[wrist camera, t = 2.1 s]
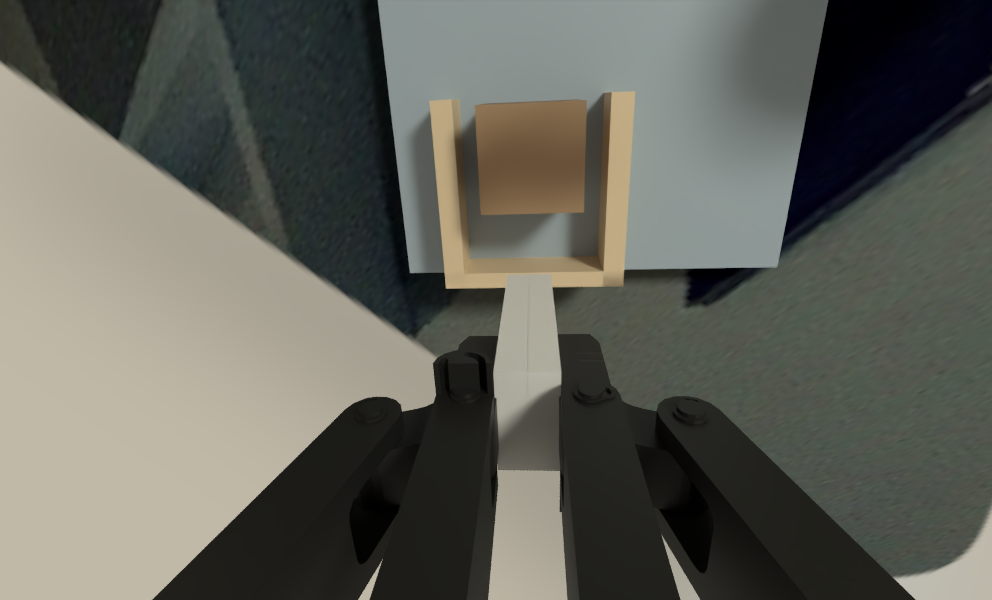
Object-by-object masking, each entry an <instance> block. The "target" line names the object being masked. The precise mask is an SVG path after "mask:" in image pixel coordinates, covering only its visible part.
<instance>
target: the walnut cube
mask: <svg viewBox="0 0 992 600" xmlns="http://www.w3.org/2000/svg"><path fill="white" fill-rule="evenodd" d="M586 115H587V100H579V99H575V100H553V101H531V102H509V103H487V104H480V105H475V119H476V137H477V155H478V173H479V191H480V209H481V215H504V214H543V213H581V212H584V188H585V151H586Z"/></svg>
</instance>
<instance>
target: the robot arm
mask: <svg viewBox="0 0 992 600" xmlns="http://www.w3.org/2000/svg"><path fill="white" fill-rule="evenodd" d="M433 368H434V378H435V387H436V397H435V401H434V403H433V404H431V405H428V406H426V407H423V408H419V409H414V410H409V411H404V412H402V410H401V405H400V404H399V403H398V402H397V401H396V400H394V399H391V398H388V397H372V398H366V399H363V400H361V401H358V402H356V403H354V404H352V405H351V406H349V407H348V408H347V409H345V410H344V411H343V412H342V413H341V414H340V415H339V416H338V417H337V418H336V419H335V420H334V421H333V422H332V423H331V424H330V425H329V426H328V427H327V428H326V429H325V430H324V431H323V432H322V433H321V434H320V435H319V436H318V437H317V438H316V439H315V440H314V441H313V442H312V443H311V444H310V445H309V446H308V447H307V448H306V449H305V450H304V451H303V452H302V453H301V454H300V455H299V456H298V457H297V458H296V459H295V460H294V461H293V462H292V463H291V464H290V465H289V466H288V467H287V468H285V469H284V471H283V472H281V473H280V474H279V475H278V476H277V477H276V478H275V479H274V480H273V481H272V482H271V483H270V484H269V485H268V486H267V487H266V488H265V489H264V490H263V491H262V492H261V493H260V494H259V495H258V496H257V497H256V498H255V499H254V500H253V501H252V502H251V503H250V504H249V505H248V506H247V507H246V508H245V509H244V510H243V511H242V512H241V513H240V514H239V515H238V516H237V517H236V518H235V519H234V520H233V521H232V522H231V523H230V524H229V525H228V526H227V527H226V528H225V529H224V530H223V531H222V532H221V533H220V534H219V535H218V536H217V537H215V539H213V541H211V542H210V543H209V544H208V545H207V546H206V547H205V548H204V549H203V550H202V551H201V552H200V553H199V554H198V555H197V556H196V557H195V558H194V559H193V560H192V561H191V562H190V563H189V564H188V565H187V566H186V567H185V568H184V569H183V570H182V571H181V572H180V573H179V574H178V575H177V576H176V577H175V578H174V579H173V580H172V581H171V582H170V583H169V584H168V585H167V586H166V587H165V588H164V589H163V590H162V591H161V592H160V593H159V594H158V595H157V596H156V597H155V598H154V599H153V600H358V599H359V597H360V596H361V594H362V592H363V590H364V589H365V587H366V585H367V584H368V582H369V581H370V579H371V577H372V576H373V574H374V572H375V571H376V569H377V567H378V566H379V564H380V562H381V561H382V559H383V561H382V563H381V566H380V569H379V573H378V576H377V579H376V582H375V585H374V588H373V591H372V594H371V597H370V600H488V593H489V581H490V570H491V557H492V547H493V536H494V524H495V512H496V501H497V490H498V478H497V464H498V470H544V471H546V470H547V471H560V512H562V523H563V537H564V553H565V566H566V567H565V568H566V583H567V597H568V600H680V597H679V593H678V590H677V587H676V583H675V580H674V576H673V573H672V570H671V566H670V563H669V559H668V556H667V553H666V550H665V546H664V543H663V539H662V536H663V537H664V539H665V541H666V542H667V544H668V546H669V548H670V549H671V551H672V552H673V554H674V556H675V558H676V559H677V561H678V563H679V564H680V566H681V568H682V569H683V571H684V573H685V574H686V576H687V578H688V579H689V581H690V583H691V584H692V586H693V588H694V589H695V591H696V593H697V594H698V596H699V598H700V600H915V599H914V598H913V597H912V596H911V595H910V594H909V593H908V592H907V591H906V590H905V589H904V588H903V587H902V586H901V585H900V584H899V583H898V582H897V581H896V580H895V579H894V578H893V577H892V576H891V575H889V574H888V573H887V572H886V571H885V570H884V569H883V568H882V567H881V566H880V565H879V564H878V563H877V562H876V561H875V560H874V559H873V558H872V557H871V556H870V555H869V554H868V553H867V552H866V551H865V550H864V549H863V548H862V547H861V546H860V545H859V544H857V543H856V542H855V541H854V540H853V539H852V538H851V537H850V536H849V535H848V534H847V533H846V532H845V531H844V530H843V529H842V528H841V527H840V526H839V525H838V524H837V523H836V522H835V521H834V520H833V519H832V518H831V517H830V516H829V515H828V514H827V513H826V512H824V511H823V510H822V509H821V508H820V507H819V506H818V505H817V504H816V503H815V502H814V501H813V500H812V499H811V498H810V497H809V496H808V495H807V494H806V493H805V492H804V491H803V490H802V489H801V488H800V487H799V486H798V485H797V484H796V483H795V482H794V481H793V480H791V479H790V478H789V477H788V476H787V475H786V474H785V473H784V472H783V471H782V470H781V469H780V468H779V467H778V466H777V465H776V464H775V463H774V462H773V461H772V460H771V459H770V458H769V457H768V456H767V455H766V454H765V453H764V452H763V451H762V450H761V449H759V448H758V447H757V446H756V445H755V444H754V443H753V442H752V441H751V440H750V439H749V438H748V437H747V436H746V435H745V434H744V433H743V432H742V431H741V430H740V429H739V428H738V427H737V426H736V425H735V424H734V423H733V422H732V421H731V420H730V419H729V418H728V417H726V416H725V415H724V414H723V413H722V412H721V411H720V410H719V409H718V408H716V407H715V406H714V405H712V404H711V403H708V402H706V401H703V400H701V399H698V398H694V397H688V396H675V397H671V398H667V399H664V400H663V401H662V402H661V403H659V404H658V408H657V412H656V411H651V410H646V409H642V408H638V407H634V406H632V405H629V404H627V403H625V402H623V401H622V399H621V396H620V394H619V392H618V391H617V389H616V388H614V387H613V386H611V384H610V380H609V377H608V373H607V369H606V366H605V362H604V359H603V355H602V351H601V348H600V344H599V342H598V341H597V340H596V339H595V338H593V337H592V336H591V335H590V334H557V326H556V317H555V307H554V298H553V288H552V279H551V274H526V275H507V282H506V289H505V296H504V302H503V309H502V316H501V323H500V330H499V336H469V337H468V338H467V339H465V340H464V341H463V342H462V343H461V344H460V346H459V349H458V350H456V351H452V352H449V353H445V354H443V355H442V356H440V357H438V358H437V359H436V360H435V362H434V363H433ZM661 534H662V535H661Z"/></svg>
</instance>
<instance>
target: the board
mask: <svg viewBox="0 0 992 600" xmlns="http://www.w3.org/2000/svg"><path fill="white" fill-rule="evenodd" d="M827 4H828V0H378V7H379V15H380V24H381V32H382V40H383V49H384V57H385V66H386V74H387V83H388V91H389V100H390V108H391V117H392V125H393V134H394V142H395V150H396V159H397V167H398V176H399V184H400V193H401V201H402V210H403V218H404V227H405V235H406V244H407V252H408V260H409V269H410V273H445V283H446V289H455V288H506V282H507V275H526V274H551V279H552V287H605V286H623V281H624V270H630V269H691V268H753V267H777V266H778V261H779V255H780V250H781V245H782V240H783V234H784V229H785V224H786V219H787V213H788V208H789V203H790V198H791V193H792V187H793V182H794V177H795V172H796V166H797V161H798V156H799V151H800V145H801V140H802V135H803V130H804V124H805V119H806V114H807V109H808V104H809V98H810V93H811V88H812V83H813V77H814V72H815V67H816V62H817V56H818V51H819V46H820V41H821V36H822V30H823V25H824V20H825V15H826V9H827ZM575 99H579V100H587V115H586V151H585V188H584V212H581V213H543V214H504V215H481V209H480V191H479V173H478V155H477V137H476V119H475V105H480V104H487V103H509V102H531V101H553V100H575Z"/></svg>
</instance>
